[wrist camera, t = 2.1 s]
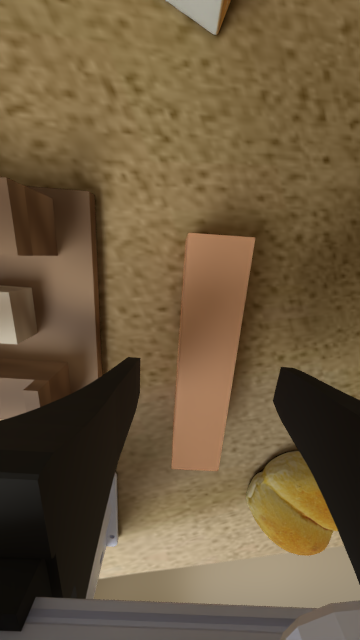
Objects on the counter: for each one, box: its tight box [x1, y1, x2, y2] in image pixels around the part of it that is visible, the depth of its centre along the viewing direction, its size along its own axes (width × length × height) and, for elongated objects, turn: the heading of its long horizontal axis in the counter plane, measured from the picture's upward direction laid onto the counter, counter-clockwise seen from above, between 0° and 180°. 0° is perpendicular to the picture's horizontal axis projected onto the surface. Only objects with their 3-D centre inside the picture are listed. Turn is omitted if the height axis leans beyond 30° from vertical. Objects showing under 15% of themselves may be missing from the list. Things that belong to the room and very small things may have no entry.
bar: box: [172, 233, 255, 471], centre depth 13 cm, size 14×3×4 cm, turn 176°
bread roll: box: [246, 451, 338, 555], centre depth 17 cm, size 8×9×4 cm
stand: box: [0, 177, 102, 420], centre depth 12 cm, size 14×10×4 cm
